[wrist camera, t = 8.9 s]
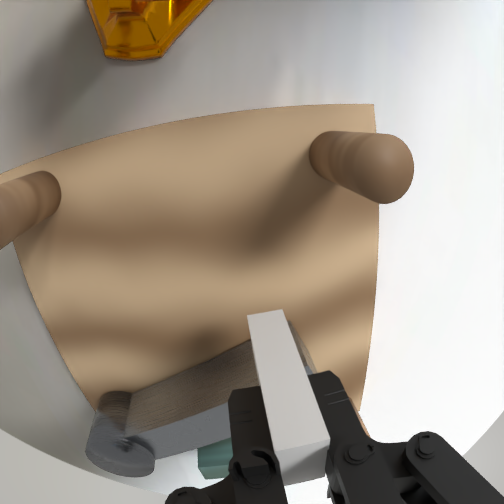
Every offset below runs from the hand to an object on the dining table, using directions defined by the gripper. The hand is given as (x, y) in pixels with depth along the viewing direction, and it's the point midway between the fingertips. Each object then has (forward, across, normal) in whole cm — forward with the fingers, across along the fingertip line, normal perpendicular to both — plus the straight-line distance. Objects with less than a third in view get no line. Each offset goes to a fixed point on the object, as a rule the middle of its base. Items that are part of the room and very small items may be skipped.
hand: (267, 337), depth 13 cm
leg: (+3, -5, -6) cm, 8 cm away
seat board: (+5, -3, -2) cm, 6 cm away
